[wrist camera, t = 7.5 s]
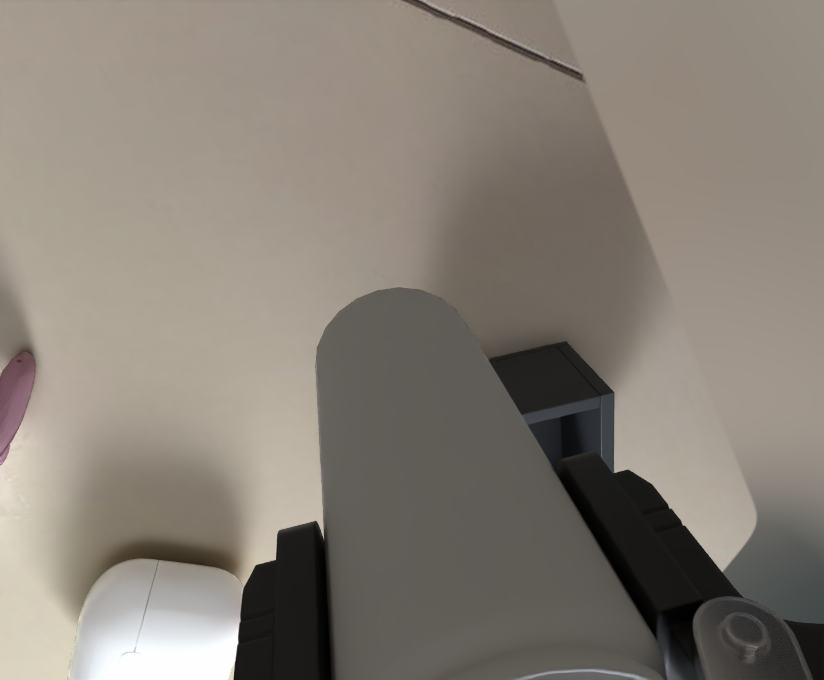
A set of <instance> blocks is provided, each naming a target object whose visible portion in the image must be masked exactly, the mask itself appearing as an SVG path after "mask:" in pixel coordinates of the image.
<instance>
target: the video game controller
mask: <svg viewBox="0 0 824 680" xmlns="http://www.w3.org/2000/svg"><path fill="white" fill-rule="evenodd" d="M34 377H35V360H34V358H33V357H32V356H31V355H30V354H29V353H25V352H23V353H20V354H18V355H17V356H15V357H14V358H13V359H12V360H11V361H10V362H9V363H8V365H7V366H6V367H5V368H4V370H3V371H2V373H1V376H0V466H1V464H2V463H3V462H4V460H5V459H6V457H7V455H8V453H9V447H10V443H11V442H12V440H13V438H14V436H15V434H16V432H17V430H18V428H19V426H20V424H21V422H22V420H23V417H24V414H25V411H26V408H27V405H28V402H29V399H30V396H31V392H32V388H33V384H34Z"/></svg>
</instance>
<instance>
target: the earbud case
mask: <svg viewBox="0 0 824 680" xmlns="http://www.w3.org/2000/svg"><path fill="white" fill-rule="evenodd" d="M157 564H158V566H157ZM156 568H157V569H156ZM155 572H156V573H155ZM154 576H155V577H154ZM153 579H154V581H153ZM152 583H153V584H152ZM151 586H152V588H151ZM243 589H244V587H243V585H242V584H241V582H240V581H239V580H238V579H237V578H236V577H235V576H234V575H233V574H231V573H230V572H228V571H226V570H223V569H220V568H215V567H209V566H203V565H195V564H188V563H180V562H172V561H164V560H159V562H158V560H156V559H132V560H127V561H124V562H121V563H119V564H117V565H115V566H113V567H111V568H110V569H108V570H107V571H106V572H105V573H104V574H103V575H101V576H100V578H99V579H98V580H97V581H96V582H95V584H94V585H93V586H92V588H91V590H90V591H89V593H88V595H87V597H86V600H85V602H84V604H83V607H82V610H81V614H80V617H79V621H78V626H77V630H76V635H75V640H74V645H73V649H72V654H71V659H70V664H69V669H68V676H67V680H228V678H229V675H230V672H231V670H232V667H233V664H234V661H235V659H236V651H237V644H238V632H239V622H241V619H240V612H241V603H242V593H243ZM150 590H151V592H150ZM149 594H150V596H149ZM148 598H149V599H148ZM147 601H148V603H147ZM146 605H147V607H146ZM145 609H146V611H145ZM144 613H145V614H144ZM143 616H144V618H143ZM142 620H143V622H142ZM141 624H142V626H141ZM140 628H141V629H140ZM139 631H140V633H139ZM138 635H139V637H138ZM137 639H138V641H137ZM136 643H137V644H136ZM135 646H136V647H135Z"/></svg>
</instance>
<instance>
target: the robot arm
mask: <svg viewBox="0 0 824 680" xmlns="http://www.w3.org/2000/svg"><path fill="white" fill-rule="evenodd" d="M557 475H558V477H559V478H560V480H561V482H562V483H563V485H564V487H565V488H566V490H567V492H568V493H569V495H570V497H571V498H572V500H573V502H574V503H575V505H576V507H577V508H578V510H579V511H580V513H581V515H582V516H583V518H584V520H585V521H586V523H587V525H588V526H589V528H590V530H591V531H592V533H593V535H594V536H595V538H596V540H597V541H598V543H599V545H600V546H601V548H602V550H603V551H604V553H605V555H606V556H607V558H608V560H609V561H610V563H611V565H612V566H613V568H614V570H615V571H616V573H617V575H618V576H619V578H620V580H621V581H622V583H623V585H624V586H625V588H626V590H627V591H628V593H629V595H630V596H631V598H632V600H633V601H634V603H635V605H636V606H637V608H638V610H639V611H640V613H641V615H642V616H643V618H644V620H645V621H646V623H647V625H648V626H649V628H650V630H651V631H652V633H653V635H654V636H655V638H656V640H657V642H658V644H659V646H660V648H661V652H662V656H663V661H664V665H665V670H666V675H667V680H824V624H813V623H799V622H793V621H788V620H784V619H782V618H781V617H779V616H778V615H777V614H776V613H775V612H773V611H772V610H770V609H769V608H767V607H765V606H763V605H761V604H759V603H757V602H755V601H752V600H749V599H745V598H744V597H742V596H741V595H740V594H739V592H738V591H737V590H736V589H735V588H734V587H733V586H732V584H731V583H730V582H729V580H728V579H727V578H726V577H725V576H724V574H723V573H722V572H721V570H720V569H719V568H718V567H717V565H716V564H715V563H714V562H713V560H712V559H711V558H710V557H709V555H708V554H707V553H706V552H705V550H704V549H703V548H702V547H701V545H700V544H699V543H698V542H697V540H696V539H695V538H694V537H693V535H692V534H691V533H690V531H689V530H688V529H687V528H686V526H683V525H682V522H681V520H680V519H679V518H678V516H677V515H676V514H675V513H674V511H673V510H672V509H669V507H668V504H667V503H666V501H665V500H664V499H663V498H662V496H661V495H660V494H659V493H658V491H657V490H656V489H655V488H654V486H653V485H652V484H651V483H649V482H647V481H646V480H644V479H643V478H641V477H639V476H638V475H636V474H634V473H633V472H631V471H630V470H625V471H621V472H617V473H612V472H611V470H610V469H609V468H608V466H607V465H606V463H605V462H604V461H603V459H602V458H601V457H600V455H599V454H598V453H597V452H595V451H590V452H586V453H583V454H579V455H575V456H571V457H567V458H563V459H559V460H558V462H557ZM240 619H241V622H239V632H238V644H237V651H236V661H235V670H234V680H331V667H330V647H329V627H328V607H327V587H326V566H325V545H324V539H323V536H322V533H321V530H320V527H319V525H318V523H317V522H316V521H314V522H310V523H306V524H302V525H298V526H294V527H290V528H286V529H282V530H279V531H278V535H277V553H276V560H274V561H270V562H266V563H263V564H259V565H256V566H255V568H254V570H253V572H252V574H251V576H250V578H249V580H248V582H247V583H246V585H245V587H244V589H243V593H242V603H241V612H240Z"/></svg>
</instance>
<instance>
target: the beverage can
mask: <svg viewBox="0 0 824 680" xmlns="http://www.w3.org/2000/svg"><path fill="white" fill-rule="evenodd" d="M315 368H316V387H317V406H318V425H319V443H320V463H321V482H322V503H323V524H324V545H325V566H326V587H327V607H328V627H329V647H330V667H331V680H667V675H666V670H665V665H664V661H663V656H662V652H661V648H660V646H659V644H658V642H657V640H656V638H655V636H654V635H653V633H652V631H651V630H650V628H649V626H648V625H647V623H646V621H645V620H644V618H643V616H642V615H641V613H640V611H639V610H638V608H637V606H636V605H635V603H634V601H633V600H632V598H631V596H630V595H629V593H628V591H627V590H626V588H625V586H624V585H623V583H622V581H621V580H620V578H619V576H618V575H617V573H616V571H615V570H614V568H613V566H612V565H611V563H610V561H609V560H608V558H607V556H606V555H605V553H604V551H603V550H602V548H601V546H600V545H599V543H598V541H597V540H596V538H595V536H594V535H593V533H592V531H591V530H590V528H589V526H588V525H587V523H586V521H585V520H584V518H583V516H582V515H581V513H580V511H579V510H578V508H577V507H576V505H575V503H574V502H573V500H572V498H571V497H570V495H569V493H568V492H567V490H566V488H565V487H564V485H563V483H562V482H561V480H560V478H559V477H558V475H557V473H556V472H555V470H554V468H553V467H552V465H551V463H550V462H549V460H548V458H547V457H546V455H545V453H544V452H543V450H542V448H541V447H540V445H539V443H538V442H537V440H536V438H535V437H534V435H533V433H532V432H531V430H530V428H529V427H528V425H527V423H526V422H525V420H524V418H523V417H522V415H521V413H520V412H519V410H518V408H517V407H516V405H515V403H514V402H513V400H512V398H511V397H510V395H509V393H508V392H507V390H506V388H505V387H504V385H503V383H502V382H501V380H500V378H499V377H498V375H497V373H496V372H495V370H494V369H493V367H492V365H491V364H490V362H489V360H488V359H487V357H486V355H485V354H484V352H483V350H482V349H481V347H480V345H479V344H478V342H477V340H476V339H475V337H474V335H473V334H472V332H471V330H470V329H469V327H468V325H467V324H466V322H465V321H464V320H463V318H462V317H461V316H460V314H459V313H458V312H457V310H456V309H455V308H453V307H452V306H451V305H449V304H448V303H447V302H445V301H444V300H443V299H441V298H440V297H438V296H435V295H432V294H430V293H427V292H425V291H422V290H418V289H409V288H399V287H398V288H391V289H384V290H377V291H375V292H372V293H370V294H367V295H365V296H362V297H360V298H357V299H356V300H354V301H353V302H351V303H350V304H349V305H347V306H346V307H345V308H343V309H342V310H340V311H339V312H338V313H337V315H336V316H335V317H334V318H333V320H332V321H331V322H330V323H329V324H328V326H327V327H326V328H325V330H324V333H323V335H322V337H321V339H320V342H319V344H318V346H317V354H316V365H315Z"/></svg>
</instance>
